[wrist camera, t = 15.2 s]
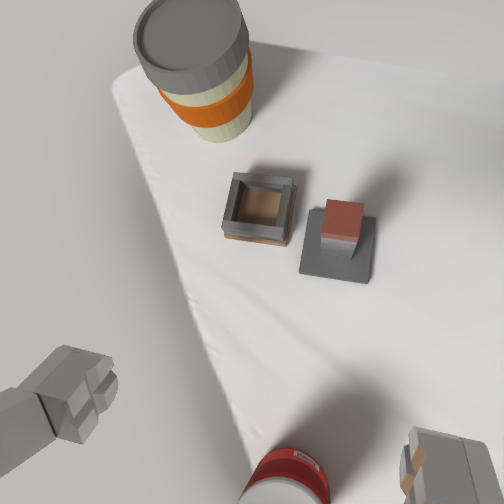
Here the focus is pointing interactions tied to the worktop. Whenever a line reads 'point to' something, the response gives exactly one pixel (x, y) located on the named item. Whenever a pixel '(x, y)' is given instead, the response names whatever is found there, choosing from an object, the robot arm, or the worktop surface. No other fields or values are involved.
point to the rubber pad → (333, 267)
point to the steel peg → (340, 229)
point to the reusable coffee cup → (199, 63)
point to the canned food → (287, 480)
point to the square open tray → (259, 208)
